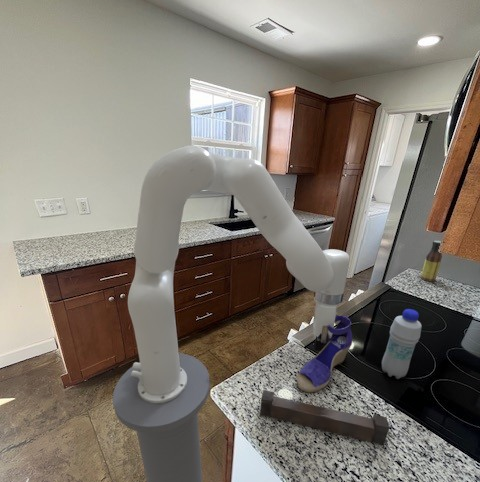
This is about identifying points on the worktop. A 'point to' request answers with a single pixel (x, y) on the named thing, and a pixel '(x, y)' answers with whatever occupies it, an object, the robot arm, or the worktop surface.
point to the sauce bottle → (432, 263)
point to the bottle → (401, 343)
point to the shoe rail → (325, 418)
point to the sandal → (326, 358)
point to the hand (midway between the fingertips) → (320, 349)
